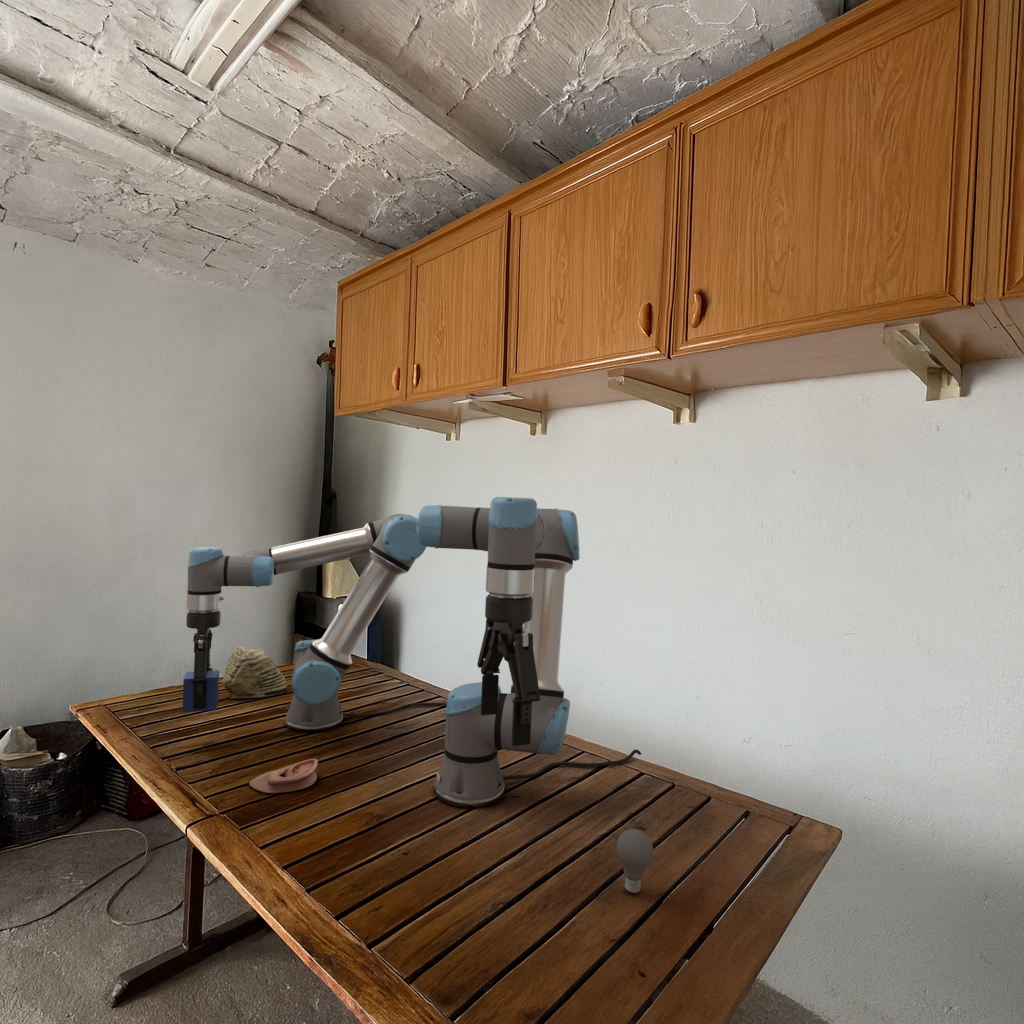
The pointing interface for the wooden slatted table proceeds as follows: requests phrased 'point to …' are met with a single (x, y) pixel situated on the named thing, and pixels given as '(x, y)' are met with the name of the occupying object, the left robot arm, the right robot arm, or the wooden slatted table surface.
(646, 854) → the light bulb
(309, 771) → the anatomical model
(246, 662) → the fossil
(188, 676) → the block
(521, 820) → the wooden slatted table surface
